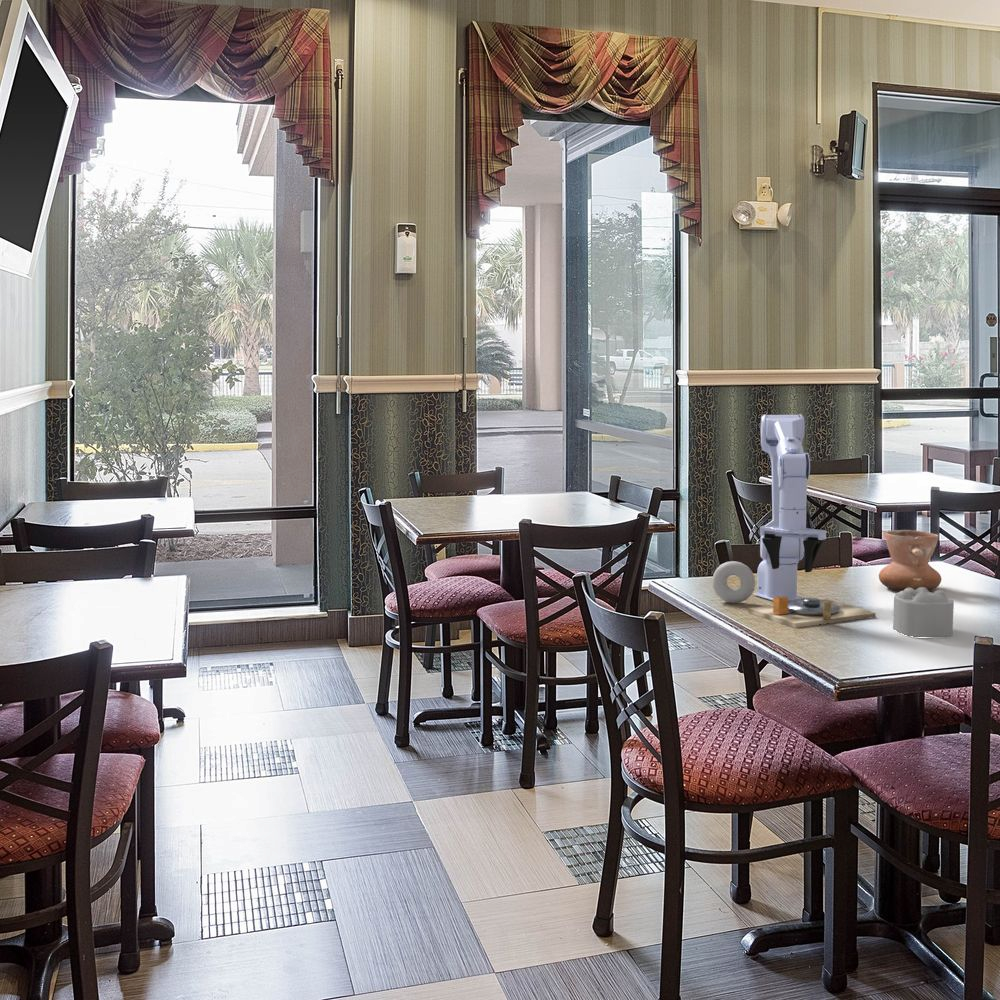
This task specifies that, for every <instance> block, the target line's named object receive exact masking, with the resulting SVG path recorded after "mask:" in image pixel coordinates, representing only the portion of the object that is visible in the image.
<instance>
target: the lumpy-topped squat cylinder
mask: <svg viewBox="0 0 1000 1000" xmlns="http://www.w3.org/2000/svg"><path fill="white" fill-rule="evenodd" d="M954 603H955V602H954V600H953V599H951V598H949V597H947V593H946V592H945V591H944V590H942V589H937V590H935V591H933V592H931V591H930V590H929V591H928V590H927V589H926V588H924V587H920V588H918V589H916V590H914V589H912V588H906V589H905V590H904V591H898V592H896V593H895V594H894V596H893V611H892V612H893V614H892V615H893V616H892V630H893V631H895V630H896V631H897V633H898V632H899V633H898V634H900V633H902V634H904V635H907V636H913V637H949V638H952V637H953V633H954V630H953V628H954V610H955V609H954V606H955V604H954ZM896 631H895V632H896ZM902 634H901V635H902ZM904 635H903V636H904ZM907 636H906V637H907ZM951 636H952V637H951Z"/></svg>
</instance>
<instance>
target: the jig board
mask: <svg viewBox="0 0 1000 1000" xmlns="http://www.w3.org/2000/svg"><path fill="white" fill-rule="evenodd" d="M820 601H824V602H823V615H802V614H796V613H788V614H780V615H778V614H775V613H773V605H766V606H758V607H749V608H748V614H752V615H755V616H757V617H760V618H762V619H763V618H764V619H765V620H766V619H767V620H769V621H773V622H776V623H779V624H782V625H784V624H785V626H788V627H790V628H793V629H796V628H797V629H798V628H806V627H812V626H811V625H814V626H820V625H819V624H821V625H827V624H826V623H829V624H836V623H843V622H842V621H844V622H848V621H847V620H852V621H856V620H855V619H859V620H864V619H863V618H867V619H871V618H870V617H875V618H876V616H877V615H876V613H877V612H874V611H870V610H866V609H863V608H860V607H856V606H852V605H849V604H845V603H842V602H838V601H834V600H831V599H828V598H827V599H826V598H825V599H820ZM831 603H834V604H837V605H839V606H840V611H839V612H838V613H836V614H832V615H831ZM835 622H836V623H835ZM805 626H806V627H805Z"/></svg>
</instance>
